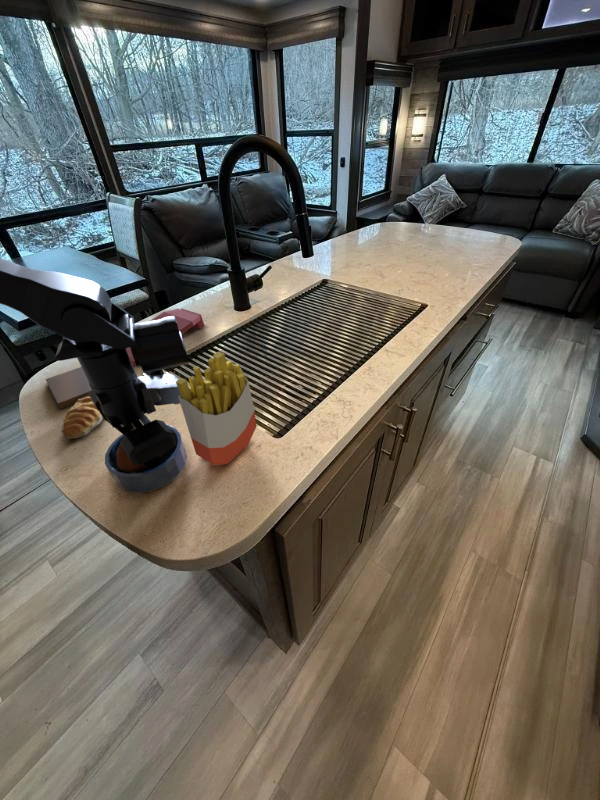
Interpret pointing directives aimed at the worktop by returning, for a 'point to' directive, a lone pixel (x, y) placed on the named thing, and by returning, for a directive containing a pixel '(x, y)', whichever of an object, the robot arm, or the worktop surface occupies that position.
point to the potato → (128, 461)
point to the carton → (178, 322)
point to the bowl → (148, 477)
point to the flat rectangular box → (69, 387)
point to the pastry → (81, 418)
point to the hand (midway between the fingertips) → (146, 454)
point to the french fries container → (218, 410)
